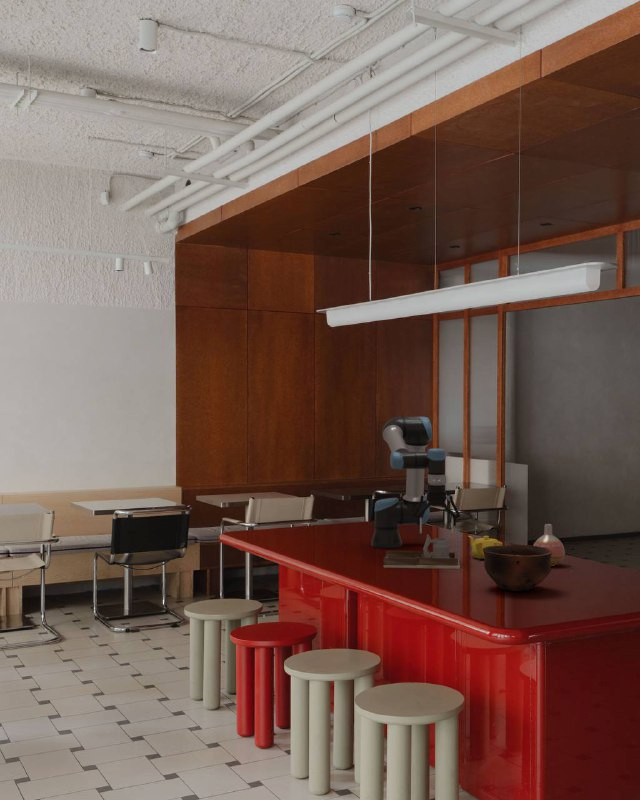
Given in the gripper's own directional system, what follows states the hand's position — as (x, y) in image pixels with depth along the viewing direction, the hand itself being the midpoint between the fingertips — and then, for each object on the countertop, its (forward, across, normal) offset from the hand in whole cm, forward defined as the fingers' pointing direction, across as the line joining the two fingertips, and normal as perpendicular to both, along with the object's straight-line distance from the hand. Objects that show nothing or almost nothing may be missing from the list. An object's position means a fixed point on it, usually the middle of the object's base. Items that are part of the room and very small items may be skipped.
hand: (436, 533), depth 391 cm
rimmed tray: (+13, -6, -1) cm, 15 cm away
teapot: (+14, +22, +17) cm, 31 cm away
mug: (+13, 0, -1) cm, 13 cm away
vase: (+14, +48, +1) cm, 49 cm away
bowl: (+12, +30, -54) cm, 63 cm away
